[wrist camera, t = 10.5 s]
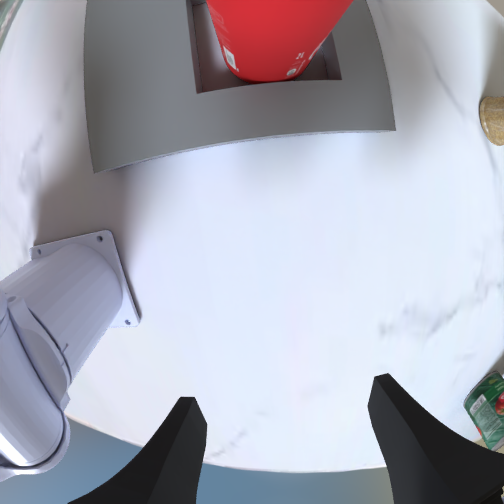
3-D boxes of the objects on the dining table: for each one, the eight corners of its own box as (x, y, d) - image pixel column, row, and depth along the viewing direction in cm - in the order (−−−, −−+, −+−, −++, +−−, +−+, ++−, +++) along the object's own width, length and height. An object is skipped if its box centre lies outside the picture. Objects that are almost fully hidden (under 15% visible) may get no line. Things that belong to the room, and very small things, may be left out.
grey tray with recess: (112, 169, 16) (94, 173, 14) (103, -2, 11) (89, -14, 9) (378, 132, 16) (395, 130, 13) (334, -38, 10) (342, -54, 8)
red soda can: (245, 14, 13) (240, -115, 1) (318, 43, 14) (398, -65, 2) (210, 73, 14) (146, -39, 3) (286, 104, 15) (352, 16, 4)
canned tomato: (504, 363, 25) (538, 406, 14) (491, 392, 27) (518, 433, 17) (469, 386, 26) (502, 437, 15) (458, 414, 28) (483, 460, 18)
